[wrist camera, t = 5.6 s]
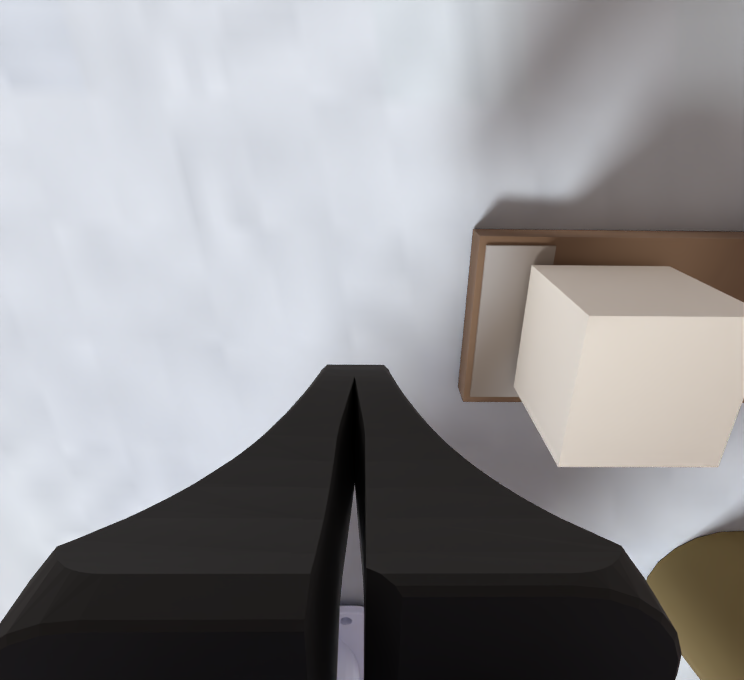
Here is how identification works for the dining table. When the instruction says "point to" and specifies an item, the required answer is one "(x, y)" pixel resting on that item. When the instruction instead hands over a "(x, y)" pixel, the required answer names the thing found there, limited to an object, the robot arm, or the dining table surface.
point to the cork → (706, 602)
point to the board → (566, 247)
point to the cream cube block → (630, 366)
